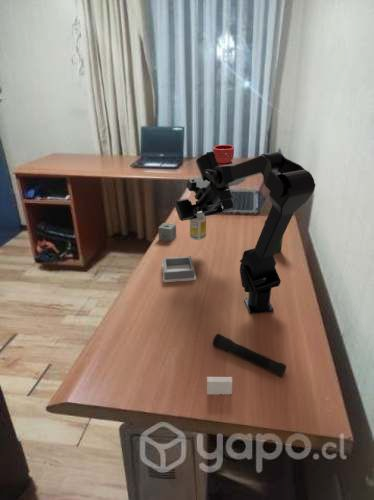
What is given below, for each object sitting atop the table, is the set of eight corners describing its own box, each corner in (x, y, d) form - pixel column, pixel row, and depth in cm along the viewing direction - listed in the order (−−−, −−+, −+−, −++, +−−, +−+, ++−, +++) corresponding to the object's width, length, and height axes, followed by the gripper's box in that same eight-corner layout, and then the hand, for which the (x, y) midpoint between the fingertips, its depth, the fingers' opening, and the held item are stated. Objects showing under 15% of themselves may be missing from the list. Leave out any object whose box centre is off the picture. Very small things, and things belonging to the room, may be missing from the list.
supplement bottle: (191, 241, 116) (190, 213, 111) (189, 234, 120) (188, 207, 116) (207, 239, 116) (207, 212, 112) (204, 233, 121) (204, 207, 116)
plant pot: (211, 163, 234) (211, 145, 229) (230, 162, 236) (231, 144, 230) (215, 168, 223) (215, 149, 217) (235, 167, 224) (236, 148, 219)
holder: (196, 279, 106) (196, 271, 105) (163, 282, 106) (162, 273, 104) (192, 263, 115) (192, 255, 114) (162, 265, 114) (161, 257, 113)
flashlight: (219, 341, 83) (219, 331, 82) (285, 371, 74) (287, 361, 73) (212, 348, 81) (212, 338, 80) (280, 381, 72) (281, 370, 71)
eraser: (231, 395, 69) (232, 381, 67) (207, 394, 69) (207, 381, 67) (231, 389, 70) (231, 376, 68) (206, 389, 70) (206, 376, 69)
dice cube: (158, 239, 132) (158, 227, 130) (164, 234, 136) (163, 222, 134) (171, 241, 130) (170, 229, 128) (176, 236, 134) (175, 224, 132)
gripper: (230, 166, 108) (211, 191, 122) (175, 174, 101) (162, 200, 114) (243, 197, 105) (223, 219, 119) (189, 208, 98) (173, 231, 112)
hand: (195, 216), depth 116 cm, fingers closed on supplement bottle, 5 cm apart
